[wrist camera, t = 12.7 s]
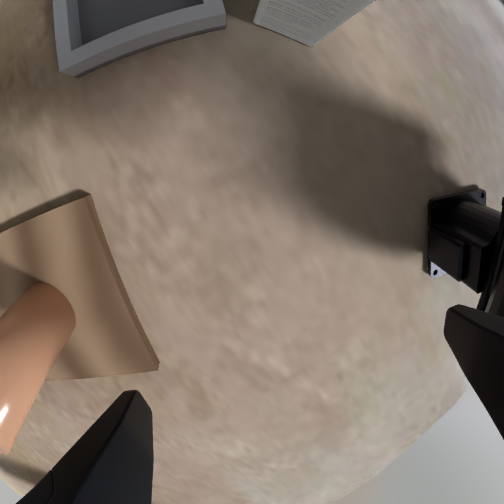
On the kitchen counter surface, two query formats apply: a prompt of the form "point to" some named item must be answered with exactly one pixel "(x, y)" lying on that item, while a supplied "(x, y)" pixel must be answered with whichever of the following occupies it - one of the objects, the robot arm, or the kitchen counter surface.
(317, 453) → the kitchen counter surface
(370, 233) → the kitchen counter surface
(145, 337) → the mat
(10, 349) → the terracotta canister
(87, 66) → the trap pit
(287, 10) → the skincare box
